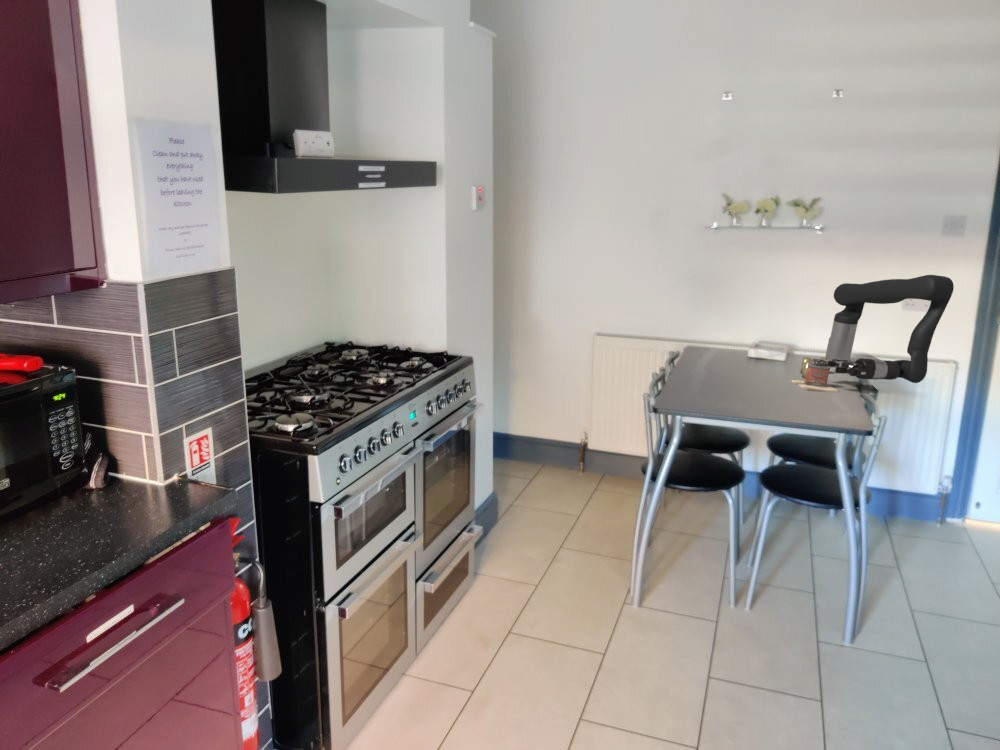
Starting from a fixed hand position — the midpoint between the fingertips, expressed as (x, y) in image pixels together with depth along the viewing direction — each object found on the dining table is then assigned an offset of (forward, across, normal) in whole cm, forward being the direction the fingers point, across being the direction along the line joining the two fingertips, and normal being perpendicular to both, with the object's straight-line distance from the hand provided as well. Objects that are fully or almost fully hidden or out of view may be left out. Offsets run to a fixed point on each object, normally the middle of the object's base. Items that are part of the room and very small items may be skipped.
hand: (829, 366), depth 299 cm
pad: (+5, 0, +8) cm, 9 cm away
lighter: (+4, 0, +7) cm, 9 cm away
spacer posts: (-3, -16, +8) cm, 18 cm away
